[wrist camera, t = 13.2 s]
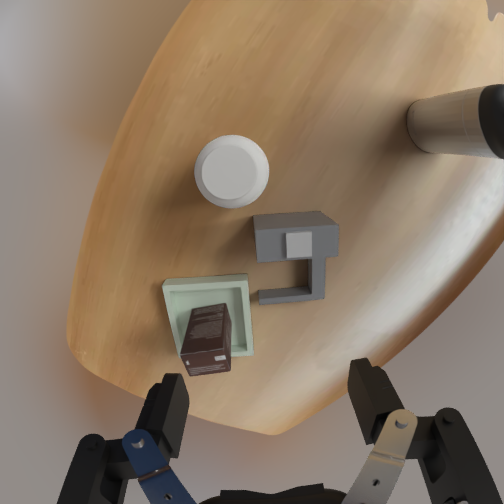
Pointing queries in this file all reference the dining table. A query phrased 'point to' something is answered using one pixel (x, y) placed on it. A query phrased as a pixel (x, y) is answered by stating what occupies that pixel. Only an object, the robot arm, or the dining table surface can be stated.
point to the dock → (296, 250)
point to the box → (208, 341)
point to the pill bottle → (231, 171)
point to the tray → (206, 294)
